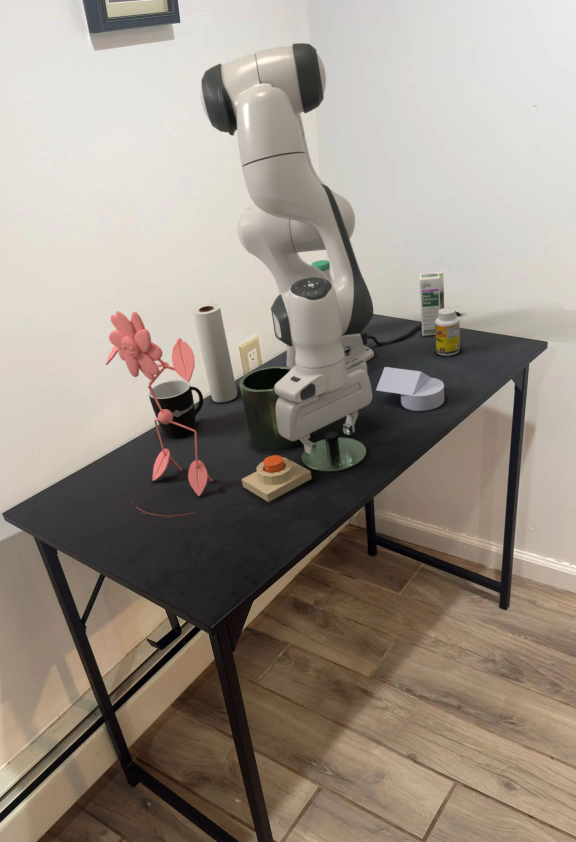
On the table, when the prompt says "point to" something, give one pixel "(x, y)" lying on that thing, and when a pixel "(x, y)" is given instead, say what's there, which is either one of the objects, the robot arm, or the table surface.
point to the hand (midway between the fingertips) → (330, 442)
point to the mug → (176, 406)
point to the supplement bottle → (447, 332)
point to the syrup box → (431, 300)
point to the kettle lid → (334, 454)
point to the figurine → (141, 355)
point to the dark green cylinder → (264, 408)
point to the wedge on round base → (413, 388)
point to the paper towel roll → (215, 352)
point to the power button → (273, 464)
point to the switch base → (276, 480)
